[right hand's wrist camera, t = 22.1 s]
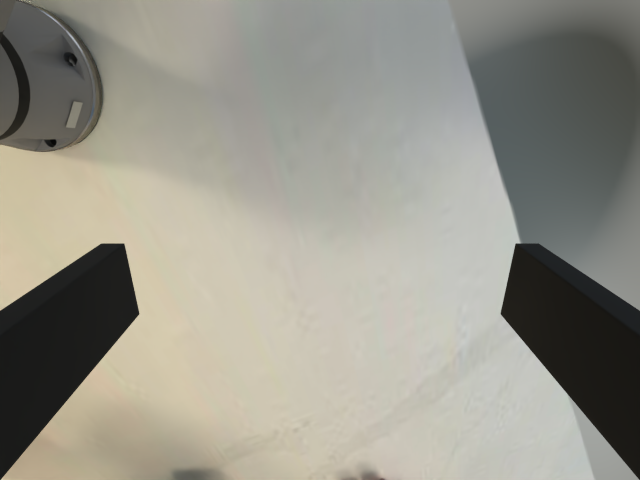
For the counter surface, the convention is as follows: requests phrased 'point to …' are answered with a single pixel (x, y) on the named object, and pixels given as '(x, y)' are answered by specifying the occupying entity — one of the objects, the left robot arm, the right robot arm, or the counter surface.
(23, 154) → the counter surface
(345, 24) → the counter surface
